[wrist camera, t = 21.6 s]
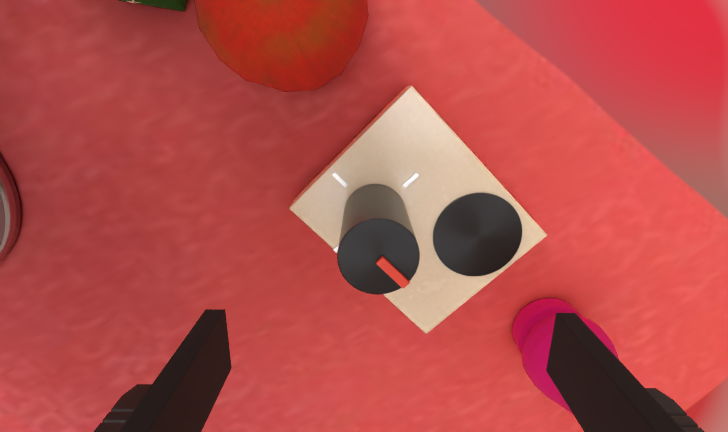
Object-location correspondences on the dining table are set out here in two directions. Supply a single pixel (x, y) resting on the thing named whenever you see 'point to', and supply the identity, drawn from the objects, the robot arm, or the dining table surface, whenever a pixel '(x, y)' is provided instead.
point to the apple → (284, 38)
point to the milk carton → (162, 3)
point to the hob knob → (377, 241)
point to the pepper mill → (545, 341)
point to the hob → (411, 197)
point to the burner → (477, 234)
